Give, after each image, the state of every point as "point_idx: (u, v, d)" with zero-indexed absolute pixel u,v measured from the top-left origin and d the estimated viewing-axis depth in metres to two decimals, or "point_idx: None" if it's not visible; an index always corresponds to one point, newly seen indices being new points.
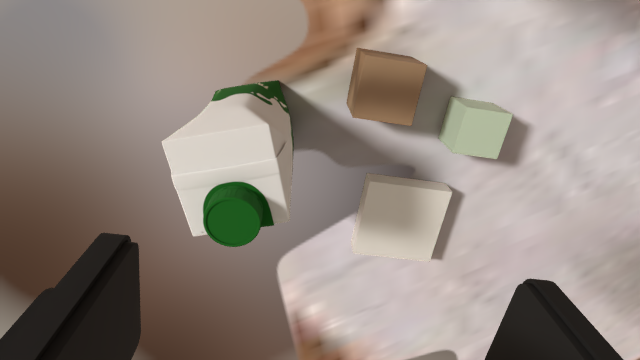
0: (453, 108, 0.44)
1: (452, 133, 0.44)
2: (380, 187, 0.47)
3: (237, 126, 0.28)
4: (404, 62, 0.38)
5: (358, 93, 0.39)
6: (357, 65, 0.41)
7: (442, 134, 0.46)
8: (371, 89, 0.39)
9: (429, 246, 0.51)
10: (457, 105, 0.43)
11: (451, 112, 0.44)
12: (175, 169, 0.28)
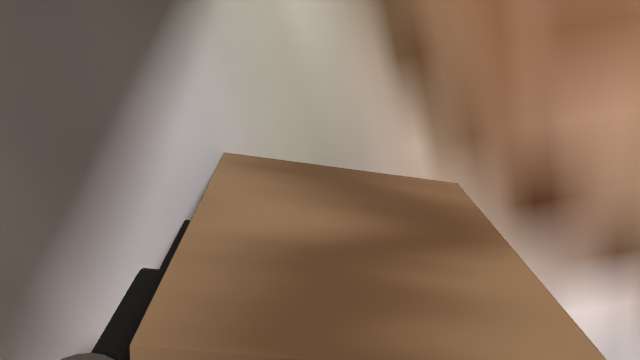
0: None
1: None
2: None
3: None
4: None
5: None
6: (435, 230, 0.08)
7: None
8: None
9: None
10: None
11: None
12: None
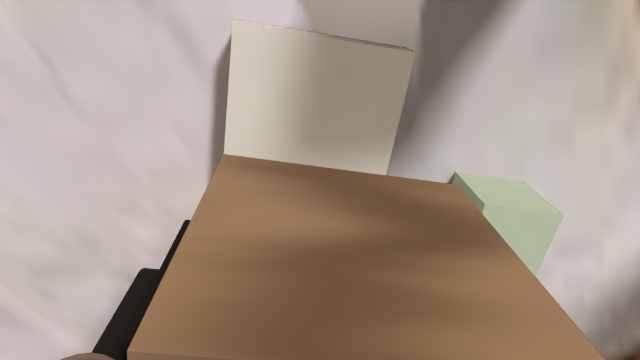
0: (523, 190, 0.27)
1: (500, 196, 0.25)
2: (399, 76, 0.23)
3: None
4: None
5: None
6: (435, 233, 0.08)
7: (470, 177, 0.27)
8: None
9: None
10: (535, 195, 0.26)
11: (514, 188, 0.27)
12: None
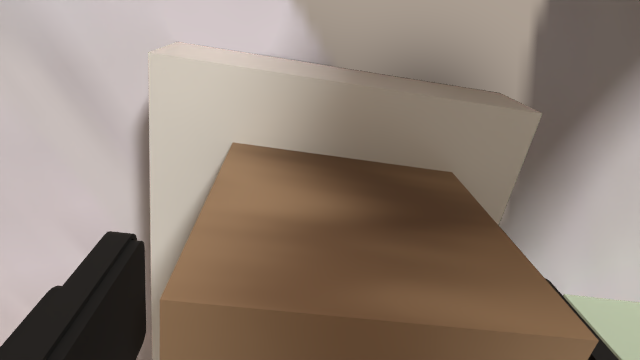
0: None
1: None
2: (503, 159, 0.11)
3: None
4: None
5: (345, 318, 0.05)
6: (429, 212, 0.09)
7: (595, 311, 0.16)
8: None
9: None
10: None
11: None
12: None
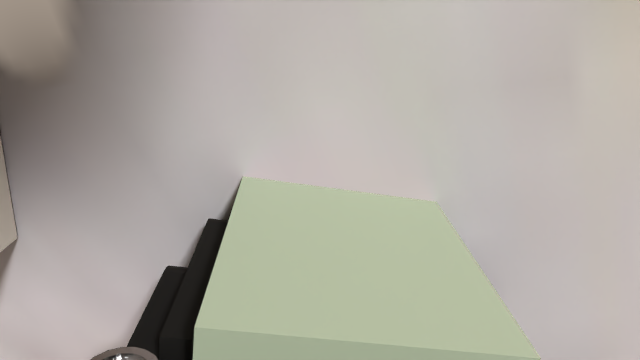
0: (421, 238, 0.09)
1: (314, 270, 0.07)
2: None
3: None
4: None
5: None
6: None
7: (271, 197, 0.09)
8: None
9: None
10: (455, 258, 0.08)
11: (396, 230, 0.09)
12: None
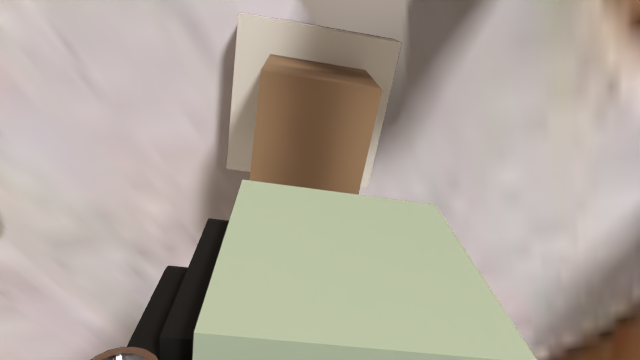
0: (420, 242, 0.09)
1: (314, 274, 0.07)
2: (387, 64, 0.25)
3: None
4: (364, 160, 0.21)
5: (310, 79, 0.20)
6: (346, 73, 0.23)
7: (270, 200, 0.09)
8: (318, 105, 0.20)
9: None
10: (454, 262, 0.08)
11: (396, 233, 0.09)
12: None
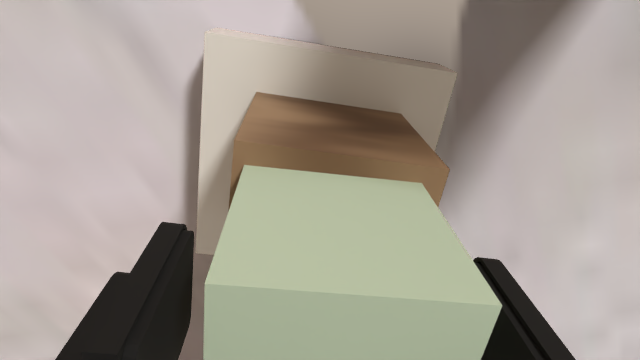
0: (405, 214, 0.10)
1: (307, 240, 0.08)
2: (434, 104, 0.17)
3: None
4: None
5: (322, 154, 0.11)
6: (378, 127, 0.14)
7: (269, 182, 0.10)
8: None
9: None
10: (435, 229, 0.09)
11: (383, 207, 0.10)
12: None
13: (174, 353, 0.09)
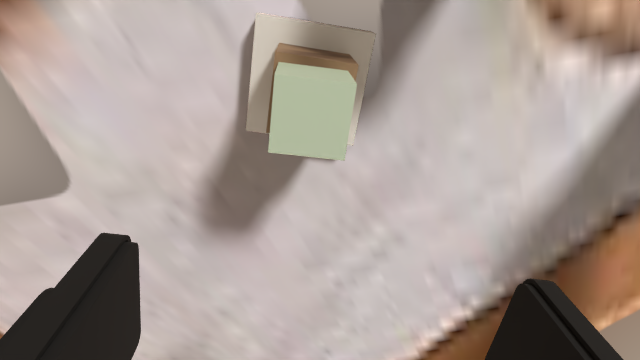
0: (337, 73, 0.27)
1: (302, 73, 0.26)
2: (365, 49, 0.34)
3: None
4: None
5: (308, 57, 0.29)
6: (335, 55, 0.32)
7: (289, 65, 0.28)
8: None
9: None
10: (345, 76, 0.27)
11: (329, 72, 0.27)
12: None
13: None
